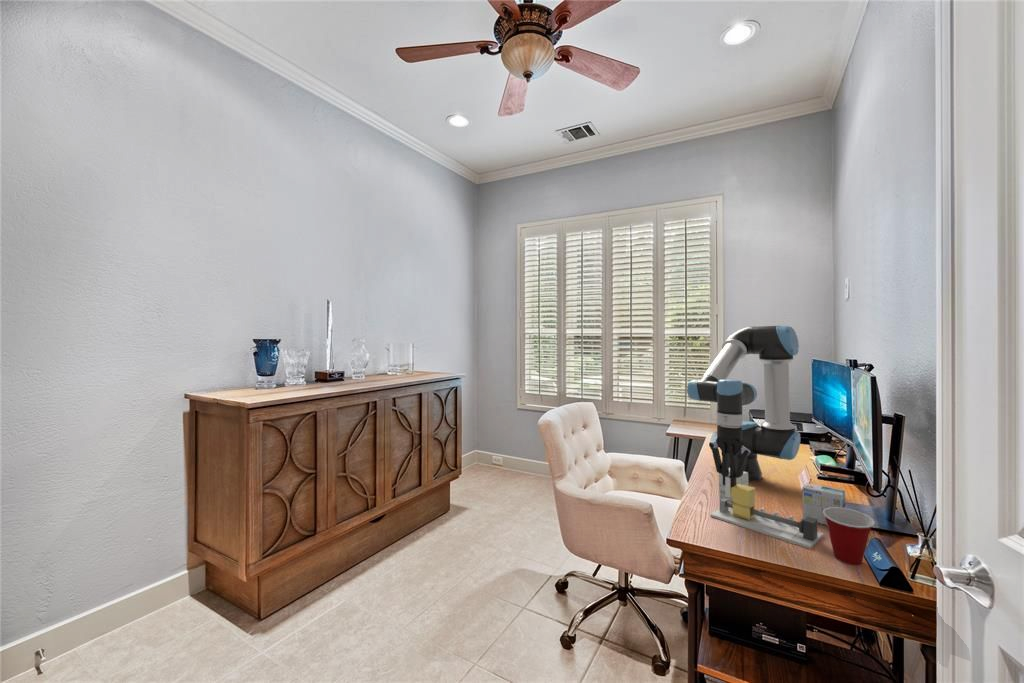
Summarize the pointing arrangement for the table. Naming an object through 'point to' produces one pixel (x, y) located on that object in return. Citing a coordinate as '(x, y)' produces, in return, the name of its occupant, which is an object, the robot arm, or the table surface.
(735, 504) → the sleeve
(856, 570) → the table surface
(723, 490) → the ink box
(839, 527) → the plastic cup
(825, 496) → the light bulb box
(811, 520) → the rod slider on plate
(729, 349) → the robot arm
